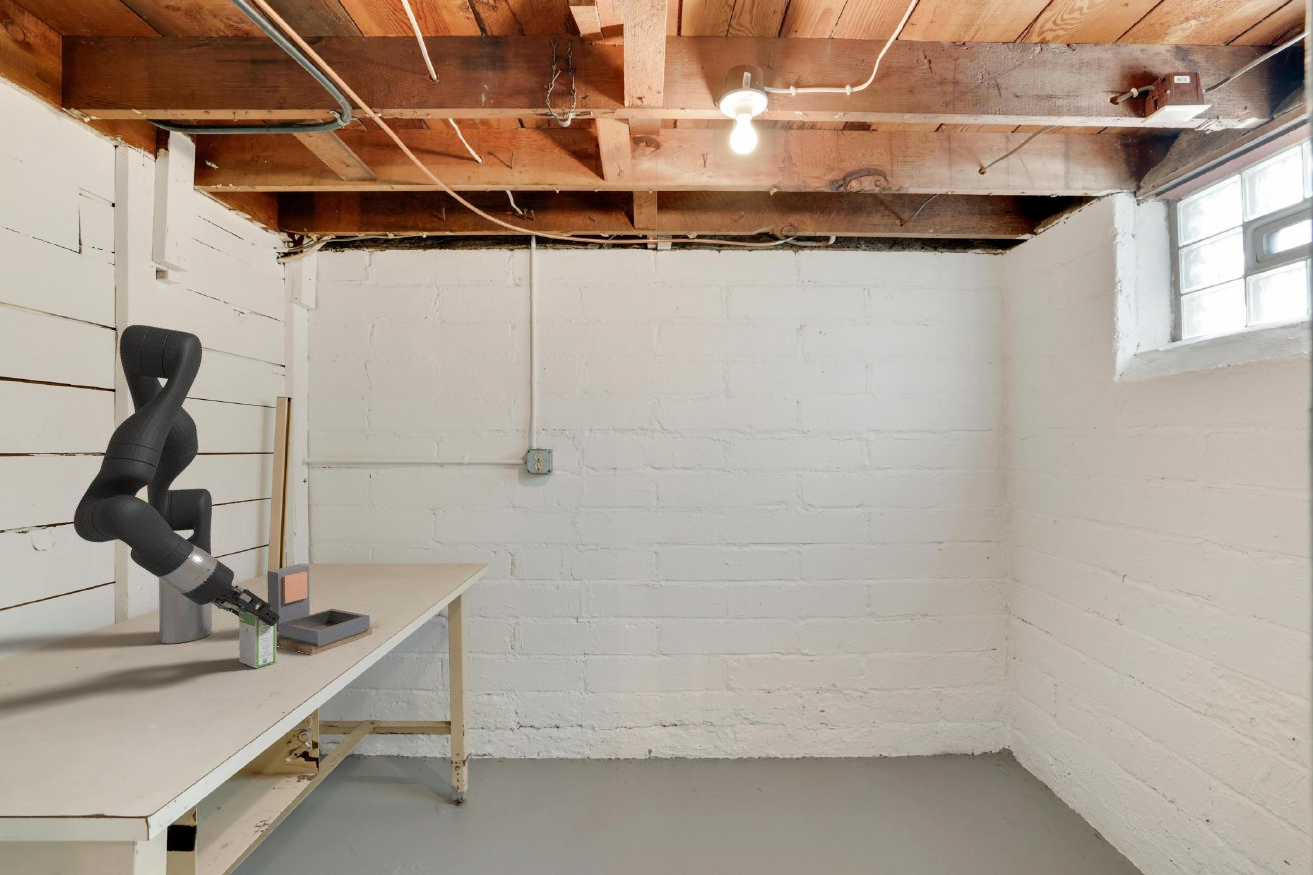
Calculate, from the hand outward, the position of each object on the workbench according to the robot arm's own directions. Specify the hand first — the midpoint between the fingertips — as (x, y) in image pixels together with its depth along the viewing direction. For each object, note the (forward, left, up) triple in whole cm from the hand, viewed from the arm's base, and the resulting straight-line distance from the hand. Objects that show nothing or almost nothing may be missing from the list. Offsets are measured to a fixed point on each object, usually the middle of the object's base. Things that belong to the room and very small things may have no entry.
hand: (262, 619), depth 116 cm
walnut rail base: (-5, +13, -8) cm, 16 cm away
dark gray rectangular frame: (-3, +13, -7) cm, 15 cm away
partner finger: (-13, +13, -7) cm, 19 cm away
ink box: (0, -1, -9) cm, 9 cm away
